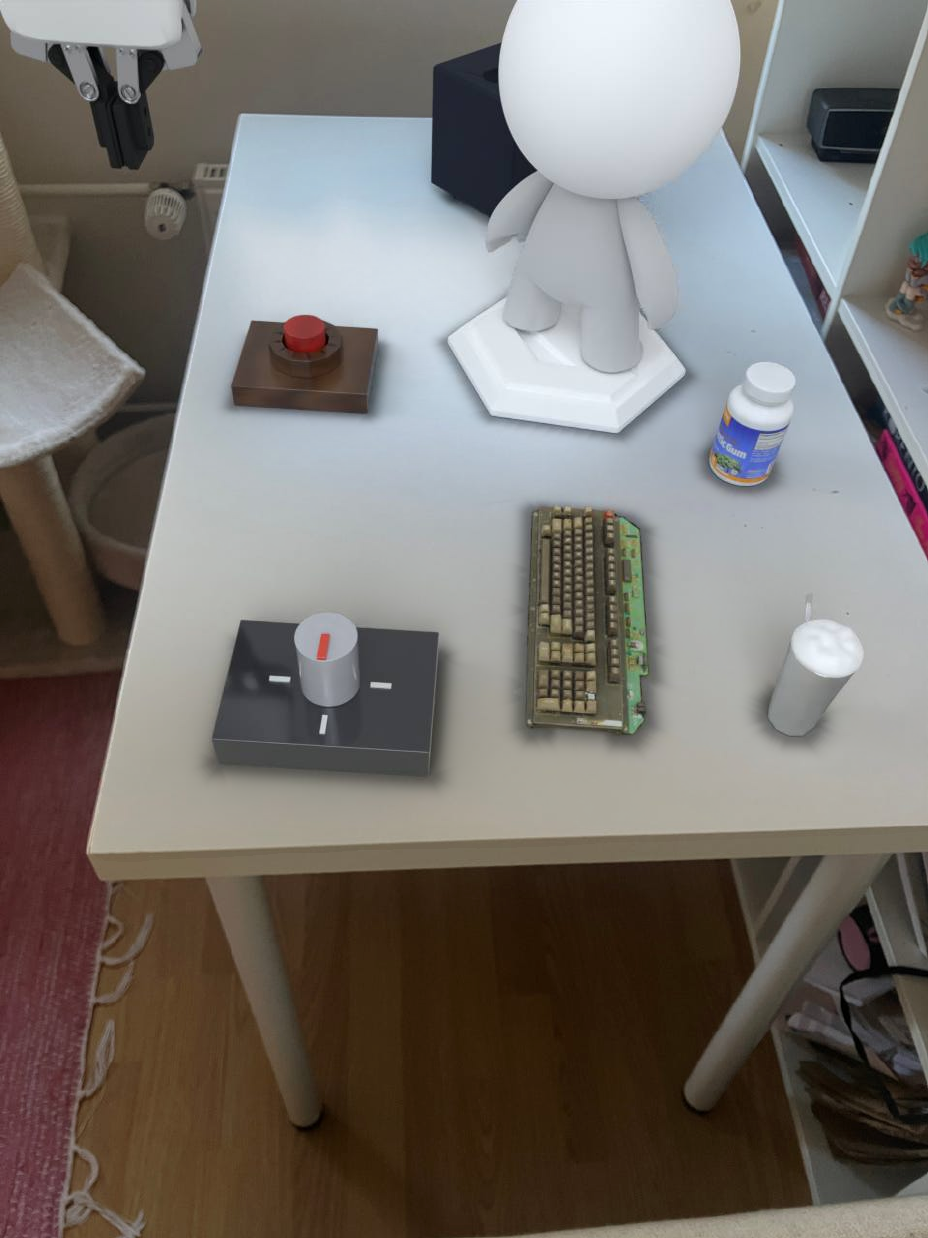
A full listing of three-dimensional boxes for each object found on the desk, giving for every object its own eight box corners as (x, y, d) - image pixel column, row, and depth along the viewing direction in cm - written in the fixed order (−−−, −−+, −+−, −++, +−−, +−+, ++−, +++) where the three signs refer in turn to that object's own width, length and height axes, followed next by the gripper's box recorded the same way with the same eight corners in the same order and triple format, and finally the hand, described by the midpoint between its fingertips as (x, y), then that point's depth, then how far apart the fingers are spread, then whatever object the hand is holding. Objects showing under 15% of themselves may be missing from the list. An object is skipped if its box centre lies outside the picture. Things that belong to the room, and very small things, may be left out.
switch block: (234, 405, 90) (228, 368, 87) (253, 339, 96) (248, 302, 93) (367, 413, 90) (366, 377, 87) (378, 347, 97) (377, 311, 93)
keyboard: (531, 510, 83) (534, 492, 82) (639, 519, 83) (644, 501, 82) (522, 728, 69) (525, 712, 68) (652, 740, 69) (658, 723, 68)
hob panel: (217, 764, 66) (210, 737, 64) (245, 645, 73) (240, 617, 70) (428, 777, 67) (429, 751, 64) (438, 657, 73) (439, 630, 70)
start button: (282, 353, 89) (280, 336, 88) (288, 329, 92) (287, 312, 90) (323, 355, 89) (321, 339, 88) (328, 332, 92) (327, 315, 90)
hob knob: (305, 656, 69) (299, 606, 65) (363, 661, 69) (361, 611, 65) (295, 704, 66) (288, 655, 62) (356, 709, 66) (353, 660, 62)
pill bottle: (696, 455, 88) (723, 363, 81) (746, 440, 90) (777, 349, 83) (731, 495, 85) (762, 403, 78) (782, 478, 87) (818, 387, 80)
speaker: (557, 141, 126) (572, 9, 114) (635, 181, 120) (659, 46, 108) (428, 195, 116) (431, 56, 104) (507, 241, 110) (518, 99, 98)
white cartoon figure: (715, 349, 99) (831, -63, 72) (580, 466, 87) (659, 24, 60) (551, 272, 106) (601, -127, 79) (408, 369, 94) (409, -61, 68)
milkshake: (793, 675, 73) (839, 585, 66) (835, 734, 70) (888, 646, 62) (739, 692, 72) (779, 602, 64) (780, 752, 69) (827, 665, 61)
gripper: (220, -223, 51) (260, 139, 65) (-73, -243, 51) (30, 124, 65) (188, -185, 46) (238, 196, 61) (-136, -207, 46) (-10, 180, 60)
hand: (130, 158), depth 63 cm, fingers closed
